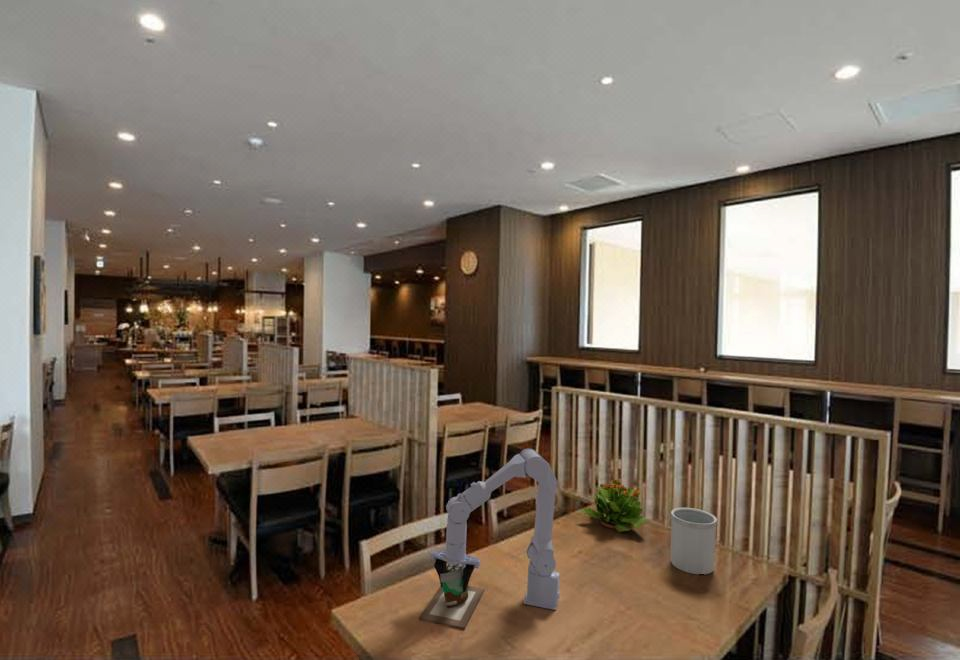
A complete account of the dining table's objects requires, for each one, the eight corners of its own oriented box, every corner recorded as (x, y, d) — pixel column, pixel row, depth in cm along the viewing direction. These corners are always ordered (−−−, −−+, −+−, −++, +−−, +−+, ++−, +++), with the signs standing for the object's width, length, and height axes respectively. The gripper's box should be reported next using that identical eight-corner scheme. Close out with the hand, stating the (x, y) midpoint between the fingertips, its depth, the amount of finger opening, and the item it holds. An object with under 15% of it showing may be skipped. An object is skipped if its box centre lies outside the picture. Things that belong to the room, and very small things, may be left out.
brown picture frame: (484, 591, 151) (484, 589, 151) (464, 629, 132) (464, 627, 132) (443, 583, 155) (443, 581, 155) (418, 619, 135) (418, 617, 135)
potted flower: (581, 531, 197) (583, 487, 197) (579, 509, 221) (581, 470, 220) (647, 539, 193) (649, 494, 193) (638, 515, 217) (640, 475, 216)
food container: (466, 610, 138) (460, 573, 138) (445, 611, 139) (439, 575, 139) (476, 587, 150) (471, 553, 150) (457, 588, 151) (451, 555, 151)
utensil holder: (667, 569, 170) (670, 518, 169) (668, 551, 183) (671, 504, 183) (715, 580, 164) (718, 527, 164) (713, 560, 178) (715, 511, 177)
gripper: (427, 542, 141) (425, 590, 141) (476, 551, 137) (474, 600, 137) (436, 532, 148) (434, 578, 148) (483, 540, 144) (481, 587, 144)
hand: (454, 587), depth 143 cm, fingers closed on food container, 6 cm apart
